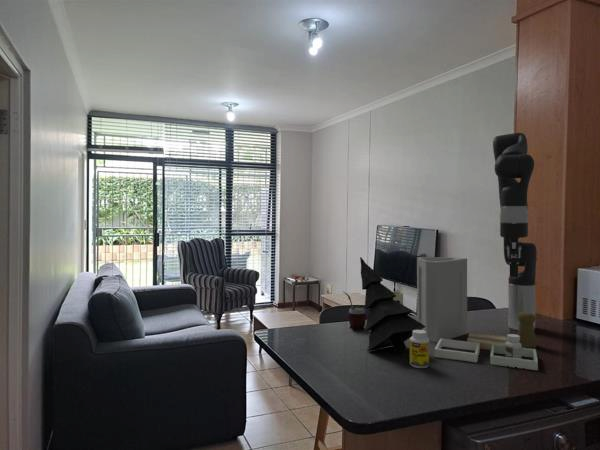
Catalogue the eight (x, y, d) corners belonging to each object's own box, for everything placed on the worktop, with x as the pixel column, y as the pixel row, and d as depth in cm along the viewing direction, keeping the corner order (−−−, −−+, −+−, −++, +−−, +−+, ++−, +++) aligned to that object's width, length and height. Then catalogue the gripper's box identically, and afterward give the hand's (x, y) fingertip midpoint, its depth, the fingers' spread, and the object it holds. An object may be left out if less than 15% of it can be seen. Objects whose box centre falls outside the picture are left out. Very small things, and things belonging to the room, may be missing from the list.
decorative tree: (404, 355, 147) (365, 266, 163) (432, 339, 136) (387, 245, 153) (371, 363, 139) (333, 268, 156) (398, 347, 129) (354, 247, 145)
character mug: (393, 329, 168) (393, 295, 168) (378, 325, 173) (378, 293, 173) (409, 324, 175) (409, 292, 175) (395, 320, 181) (395, 290, 180)
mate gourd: (369, 327, 170) (368, 290, 170) (360, 332, 164) (360, 293, 163) (351, 325, 174) (351, 288, 174) (343, 330, 168) (342, 291, 167)
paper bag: (434, 325, 173) (434, 255, 172) (468, 333, 161) (468, 258, 161) (403, 333, 162) (402, 259, 161) (437, 342, 150) (436, 262, 149)
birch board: (469, 337, 155) (469, 332, 155) (506, 341, 150) (506, 336, 150) (466, 347, 145) (466, 341, 145) (506, 352, 139) (506, 345, 139)
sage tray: (491, 351, 140) (491, 344, 140) (535, 357, 134) (535, 349, 134) (490, 364, 128) (490, 355, 128) (537, 370, 123) (537, 361, 123)
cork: (539, 348, 143) (539, 315, 143) (519, 347, 144) (519, 314, 144) (533, 342, 149) (533, 311, 149) (514, 341, 150) (514, 310, 150)
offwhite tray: (440, 345, 147) (440, 338, 147) (479, 350, 141) (479, 342, 141) (434, 356, 135) (434, 348, 135) (477, 362, 130) (477, 354, 130)
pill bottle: (502, 358, 133) (502, 333, 133) (516, 358, 134) (516, 333, 133) (510, 363, 129) (510, 337, 129) (524, 362, 129) (524, 337, 129)
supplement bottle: (409, 367, 126) (409, 333, 126) (410, 361, 131) (410, 328, 131) (429, 369, 124) (429, 334, 124) (429, 363, 130) (429, 329, 129)
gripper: (500, 220, 138) (500, 271, 139) (499, 221, 125) (499, 277, 126) (527, 220, 135) (526, 272, 135) (528, 221, 122) (528, 279, 123)
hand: (513, 275), depth 131 cm, fingers open, 8 cm apart
